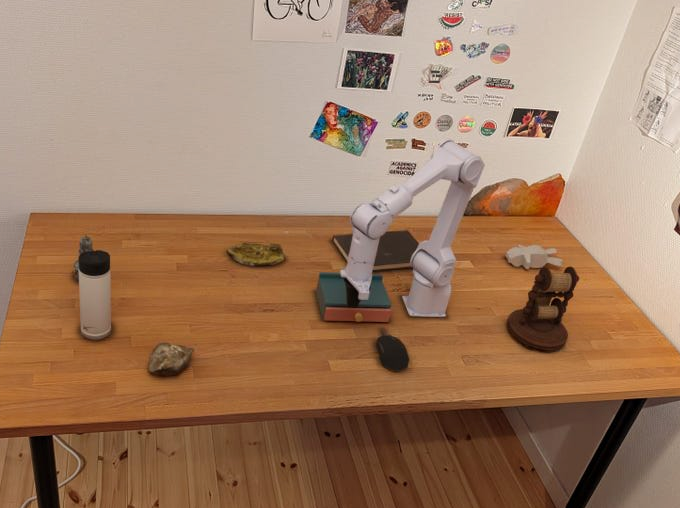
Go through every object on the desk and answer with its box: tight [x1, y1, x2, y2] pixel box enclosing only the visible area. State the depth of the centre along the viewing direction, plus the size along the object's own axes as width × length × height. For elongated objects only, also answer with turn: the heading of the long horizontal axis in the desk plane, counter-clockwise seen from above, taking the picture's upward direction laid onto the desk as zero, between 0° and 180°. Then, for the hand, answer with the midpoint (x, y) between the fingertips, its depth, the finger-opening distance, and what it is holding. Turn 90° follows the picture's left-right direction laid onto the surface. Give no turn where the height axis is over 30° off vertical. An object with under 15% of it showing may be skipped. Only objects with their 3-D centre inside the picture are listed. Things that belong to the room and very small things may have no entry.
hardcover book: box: [331, 229, 420, 273], centre depth 204 cm, size 16×23×2 cm
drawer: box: [323, 306, 392, 323], centre depth 180 cm, size 16×12×3 cm
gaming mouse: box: [375, 329, 410, 372], centre depth 169 cm, size 6×15×4 cm, turn 9°
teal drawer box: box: [315, 271, 392, 321], centre depth 181 cm, size 16×11×6 cm
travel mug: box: [77, 249, 112, 341], centre depth 156 cm, size 6×7×20 cm
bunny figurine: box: [505, 244, 564, 270], centre depth 211 cm, size 10×5×15 cm
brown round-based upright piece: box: [506, 265, 580, 351], centre depth 179 cm, size 15×15×20 cm
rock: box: [147, 342, 195, 376], centre depth 154 cm, size 8×7×10 cm
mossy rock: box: [226, 242, 285, 267], centre depth 193 cm, size 9×5×15 cm
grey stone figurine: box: [72, 234, 95, 283], centre depth 173 cm, size 6×6×12 cm
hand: (351, 306), depth 169 cm, fingers closed
